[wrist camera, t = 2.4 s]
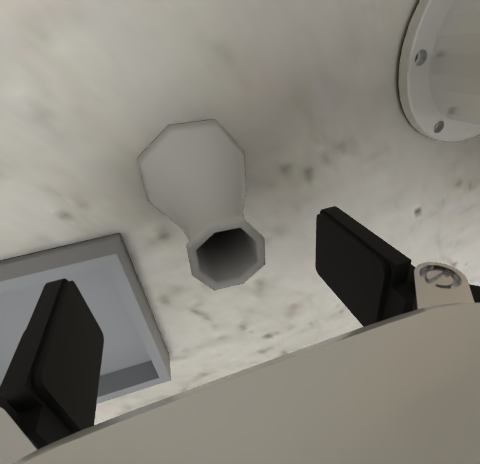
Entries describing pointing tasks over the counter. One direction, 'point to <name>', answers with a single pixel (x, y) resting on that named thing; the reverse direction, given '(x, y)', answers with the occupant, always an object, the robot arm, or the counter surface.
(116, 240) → the tray
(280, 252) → the counter surface
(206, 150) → the flask
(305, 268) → the counter surface
